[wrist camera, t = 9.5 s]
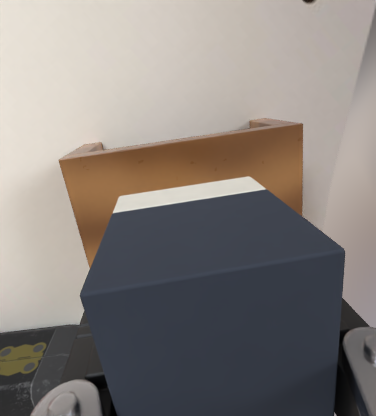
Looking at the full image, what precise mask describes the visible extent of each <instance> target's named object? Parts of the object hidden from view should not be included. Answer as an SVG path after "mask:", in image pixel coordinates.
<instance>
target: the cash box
mask: <svg viewBox="0 0 376 416" xmlns="http://www.w3.org/2000/svg"><path fill="white" fill-rule="evenodd" d="M78 328H80V326H79V325H65V326H56V327H48V328H39V329H31V330H22V331H14V332H6V333H0V416H30V415H31V413H32V411H33V410H34V408H35V407H36V405H37V404H38V402H39V401H40V400H41V399H42V398H43V397H44V396H45V395H46V394H47V393H48V392H50V391H51V390H52V389H54V388H55V387H57V386H59V383H60V380H61V378H62V375H63V372H64V369H65V366H66V363H67V360H68V357H69V354H70V351H71V348H72V345H73V342H74V340H75V339H76V334H77V331H78Z"/></svg>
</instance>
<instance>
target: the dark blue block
mask: <svg viewBox="0 0 376 416" xmlns="http://www.w3.org/2000/svg"><path fill="white" fill-rule="evenodd" d="M344 262H345V251H344V249H343V248H342V247H341V246H340V245H338V244H337V243H336V242H334V241H333V240H332V239H331V238H329V237H328V236H327V235H325V234H324V233H323V232H322V231H320V230H319V229H318V228H316V227H315V226H314V225H312V224H311V223H310V222H309V221H307V220H306V219H305V218H303V217H302V216H301V215H300V214H298V213H297V212H296V211H294V210H293V209H292V208H291V207H289V206H288V205H287V204H285V203H284V202H283V201H282V200H280V199H279V198H278V197H276V196H275V195H274V194H273V193H271V192H270V191H269V190H267V189H266V188H264V187H263V186H262V185H260V184H259V183H258V182H257V181H255V180H254V179H253V178H251V177H249V176H248V177H242V178H235V179H229V180H222V181H216V182H209V183H202V184H196V185H189V186H183V187H176V188H170V189H163V190H157V191H150V192H143V193H137V194H130V195H124V196H120V197H119V198H118V201H117V203H116V206H115V208H114V211H113V214H112V215H111V217H110V220H109V222H108V225H107V227H106V230H105V233H104V235H103V238H102V240H101V243H100V245H99V248H98V250H97V253H96V255H95V258H94V260H93V263H92V265H91V268H90V270H89V273H88V275H87V278H86V280H85V283H84V285H83V288H82V290H81V293H80V298H81V301H82V304H83V307H84V310H85V314H86V317H87V320H88V323H89V327H90V330H91V333H92V336H93V340H94V343H95V346H96V349H97V352H98V356H99V359H100V362H101V365H102V369H103V372H104V375H105V378H106V382H107V385H108V388H109V391H110V394H111V398H112V401H113V404H114V407H115V411H116V414H117V416H334V409H335V394H336V379H337V365H338V350H339V336H340V321H341V306H342V291H343V277H344Z"/></svg>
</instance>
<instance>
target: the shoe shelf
mask: <svg viewBox="0 0 376 416" xmlns="http://www.w3.org/2000/svg"><path fill="white" fill-rule="evenodd" d="M59 163H60V167H61V170H62V174H63V177H64V181H65V184H66V188H67V191H68V194H69V198H70V201H71V205H72V208H73V212H74V215H75V219H76V222H77V226H78V229H79V232H80V236H81V239H82V243H83V246H84V250H85V253H86V257H87V260H88V264H89V267H90V268H91V265H92V263H93V260H94V258H95V255H96V253H97V250H98V248H99V245H100V243H101V240H102V238H103V235H104V233H105V230H106V227H107V225H108V222H109V220H110V217H111V215H112V214H113V211H114V208H115V206H116V203H117V201H118V198H119V197H120V196H124V195H130V194H137V193H143V192H150V191H157V190H163V189H170V188H176V187H183V186H189V185H196V184H202V183H209V182H216V181H222V180H229V179H235V178H242V177H248V176H249V177H251V178H253V179H254V180H255V181H257V182H258V183H259V184H260V185H262V186H263V187H264V188H266V189H267V190H269V191H270V192H271V193H273V194H274V195H275V196H276V197H278V198H279V199H280V200H282V201H283V202H284V203H285V204H287V205H288V206H289V207H291V208H292V209H293V210H294V211H296V212H297V213H298V214H300V215H301V216H302V174H303V124H301V123H294V122H287V121H280V120H273V119H267V118H264V119H257V120H251V121H250V129H244V130H237V131H230V132H223V133H216V134H210V135H203V136H196V137H189V138H182V139H176V140H169V141H162V142H155V143H148V144H142V145H135V146H128V147H121V148H114V149H108V150H103V148H102V144H101V142H99V143H92V144H85V145H83V146H81V147H79V148H78V149H76V150H74V151H73V152H71V153H69V154H68V155H66V156H64V157H63V158H61V159H59Z"/></svg>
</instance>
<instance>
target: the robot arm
mask: <svg viewBox="0 0 376 416" xmlns="http://www.w3.org/2000/svg"><path fill="white" fill-rule="evenodd" d="M334 412H335V414H336V415H337V416H376V328H373V327H370V326H369V325H368V324H367V323H366V322H365V321H364V320H363V319H362V318H361V317H360V316H359V315H358V314H357V313H356V312H355V311H354V310H353V309H352V307H351V306H349V304H348V303H347V302H346V301H345V300H344V299H343V298H342V306H341V321H340V336H339V350H338V365H337V379H336V394H335V409H334ZM30 416H117V414H116V411H115V407H114V404H113V401H112V398H111V394H110V391H109V388H108V385H107V382H106V378H105V375H104V372H103V369H102V365H101V362H100V359H99V356H98V352H97V349H96V346H95V343H94V340H93V336H92V333H91V330H90V327H89V323H88V320H87V317H86V314H85V311H84V313H83V316H82V319H81V322H80V328H78V331H77V334H76V339H75V340H74V342H73V345H72V348H71V351H70V354H69V357H68V360H67V363H66V366H65V369H64V372H63V375H62V378H61V380H60V383H59V386H57V387H55V388H54V389H52V390H51V391H50V392H48V393H47V394H46V395H45V396H44V397H43V398H42V399H41V400H40V401H39V402H38V404H37V405H36V407H35V408H34V410H33V411H32V413H31V415H30Z"/></svg>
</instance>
